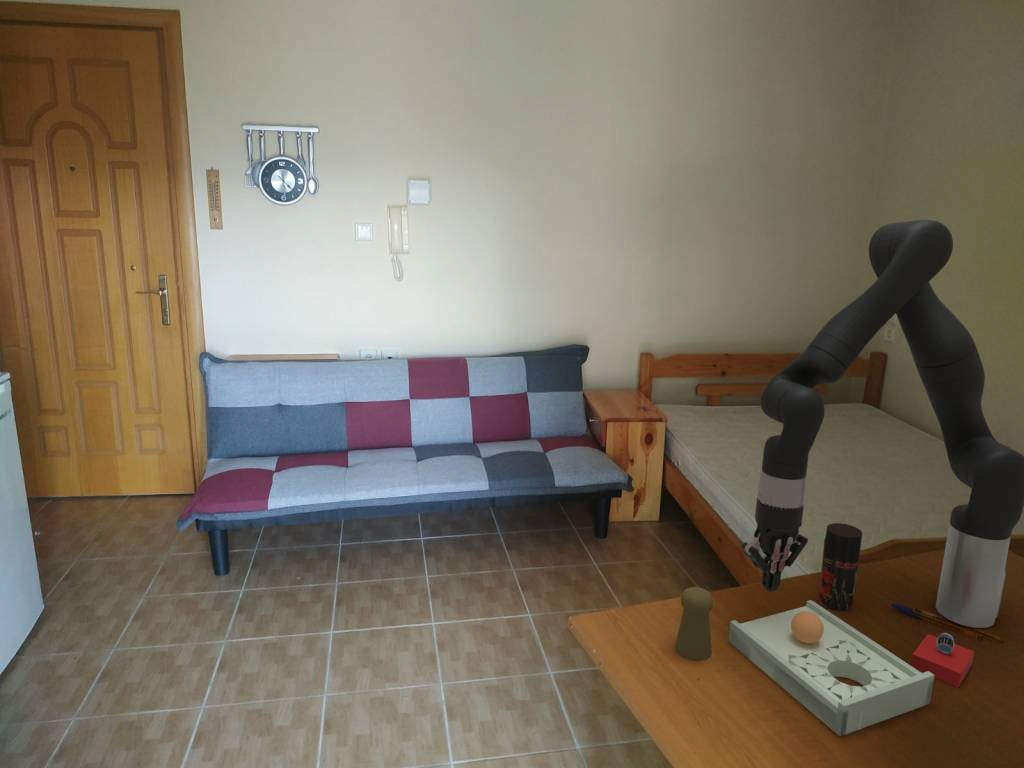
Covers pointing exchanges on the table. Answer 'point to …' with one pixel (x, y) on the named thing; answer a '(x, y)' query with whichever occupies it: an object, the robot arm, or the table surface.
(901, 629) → the table surface
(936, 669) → the red slab
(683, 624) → the olive pepper shaker
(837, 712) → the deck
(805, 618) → the ball
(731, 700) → the table surface
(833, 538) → the deodorant
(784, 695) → the table surface
